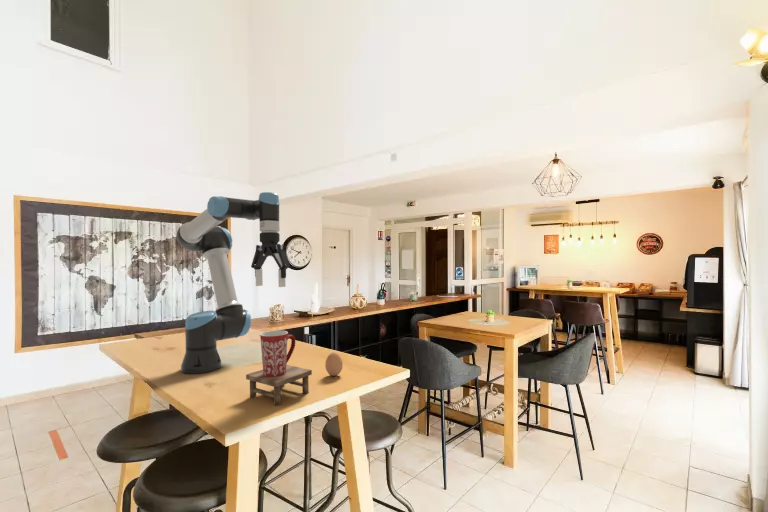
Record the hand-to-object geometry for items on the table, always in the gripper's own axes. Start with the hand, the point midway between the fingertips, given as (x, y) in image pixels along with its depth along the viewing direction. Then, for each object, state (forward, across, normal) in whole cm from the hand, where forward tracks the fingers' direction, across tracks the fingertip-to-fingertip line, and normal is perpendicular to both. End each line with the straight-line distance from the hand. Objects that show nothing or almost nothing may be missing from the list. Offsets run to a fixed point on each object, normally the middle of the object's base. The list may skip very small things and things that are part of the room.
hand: (270, 286), depth 149 cm
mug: (+27, +20, -13) cm, 36 cm away
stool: (+35, +20, -13) cm, 42 cm away
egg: (+35, +22, +12) cm, 43 cm away
